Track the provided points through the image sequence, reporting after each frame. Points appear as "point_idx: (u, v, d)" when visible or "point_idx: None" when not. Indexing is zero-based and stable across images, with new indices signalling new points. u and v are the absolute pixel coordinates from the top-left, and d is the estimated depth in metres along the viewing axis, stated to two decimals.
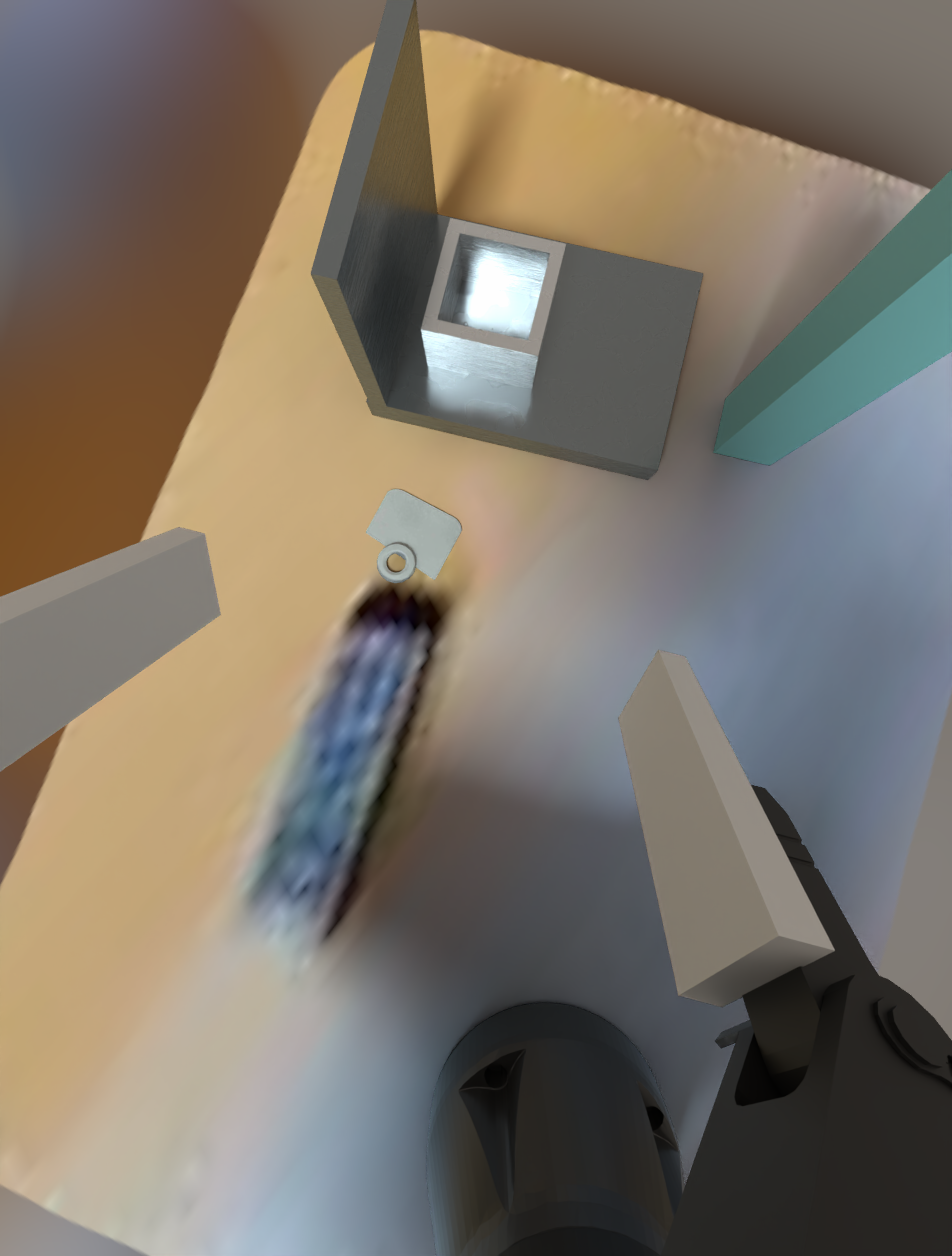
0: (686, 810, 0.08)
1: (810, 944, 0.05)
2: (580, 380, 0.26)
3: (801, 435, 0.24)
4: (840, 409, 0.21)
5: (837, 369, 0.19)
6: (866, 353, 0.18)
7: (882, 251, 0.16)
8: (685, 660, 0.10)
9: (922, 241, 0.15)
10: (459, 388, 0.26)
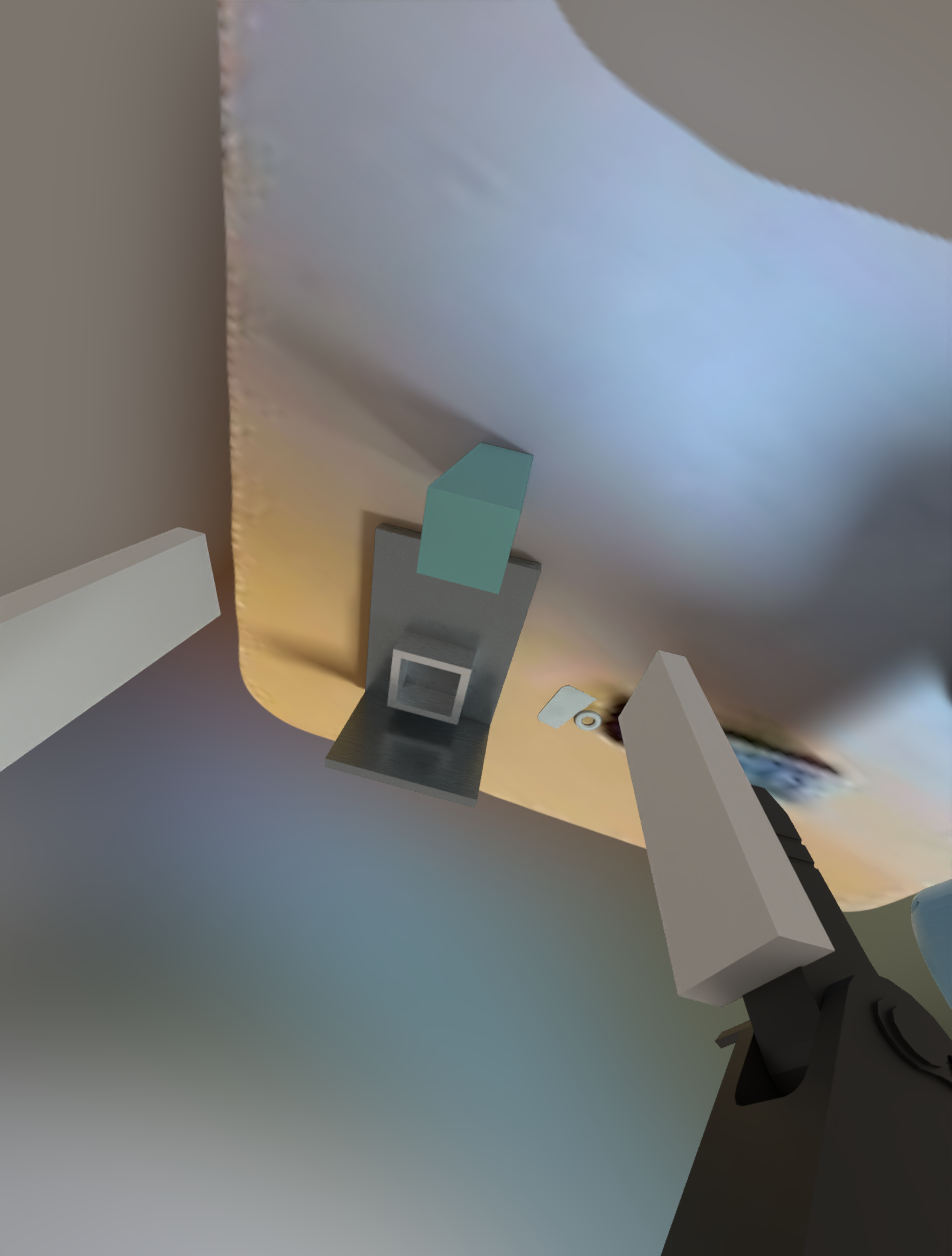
0: (686, 810, 0.08)
1: (810, 944, 0.05)
2: (468, 620, 0.35)
3: None
4: None
5: None
6: None
7: None
8: (685, 660, 0.10)
9: None
10: (477, 689, 0.39)
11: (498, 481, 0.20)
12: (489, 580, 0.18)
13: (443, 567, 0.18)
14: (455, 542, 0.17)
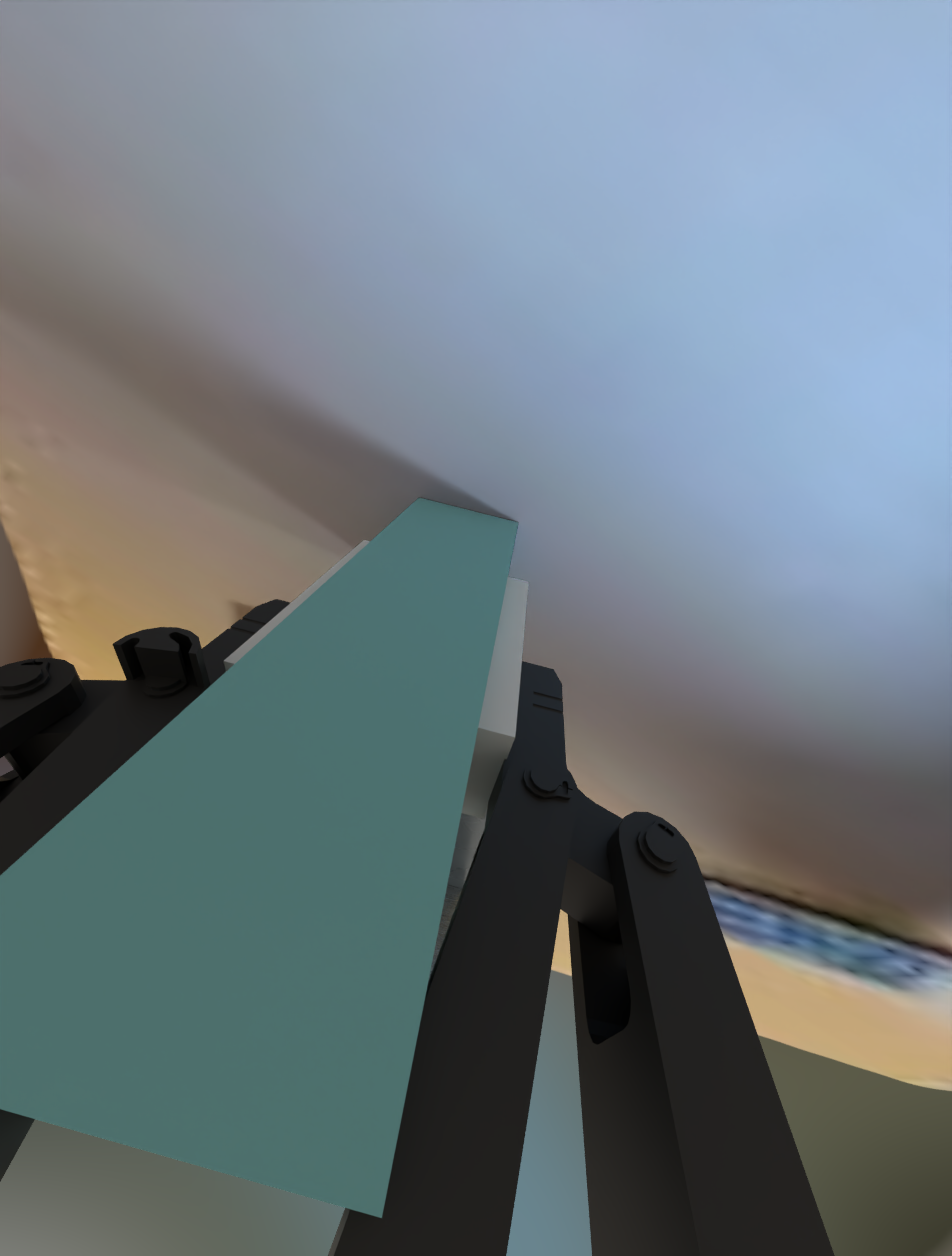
0: None
1: (501, 735, 0.07)
2: None
3: None
4: None
5: None
6: None
7: None
8: (526, 584, 0.12)
9: None
10: None
11: (387, 710, 0.06)
12: None
13: None
14: None
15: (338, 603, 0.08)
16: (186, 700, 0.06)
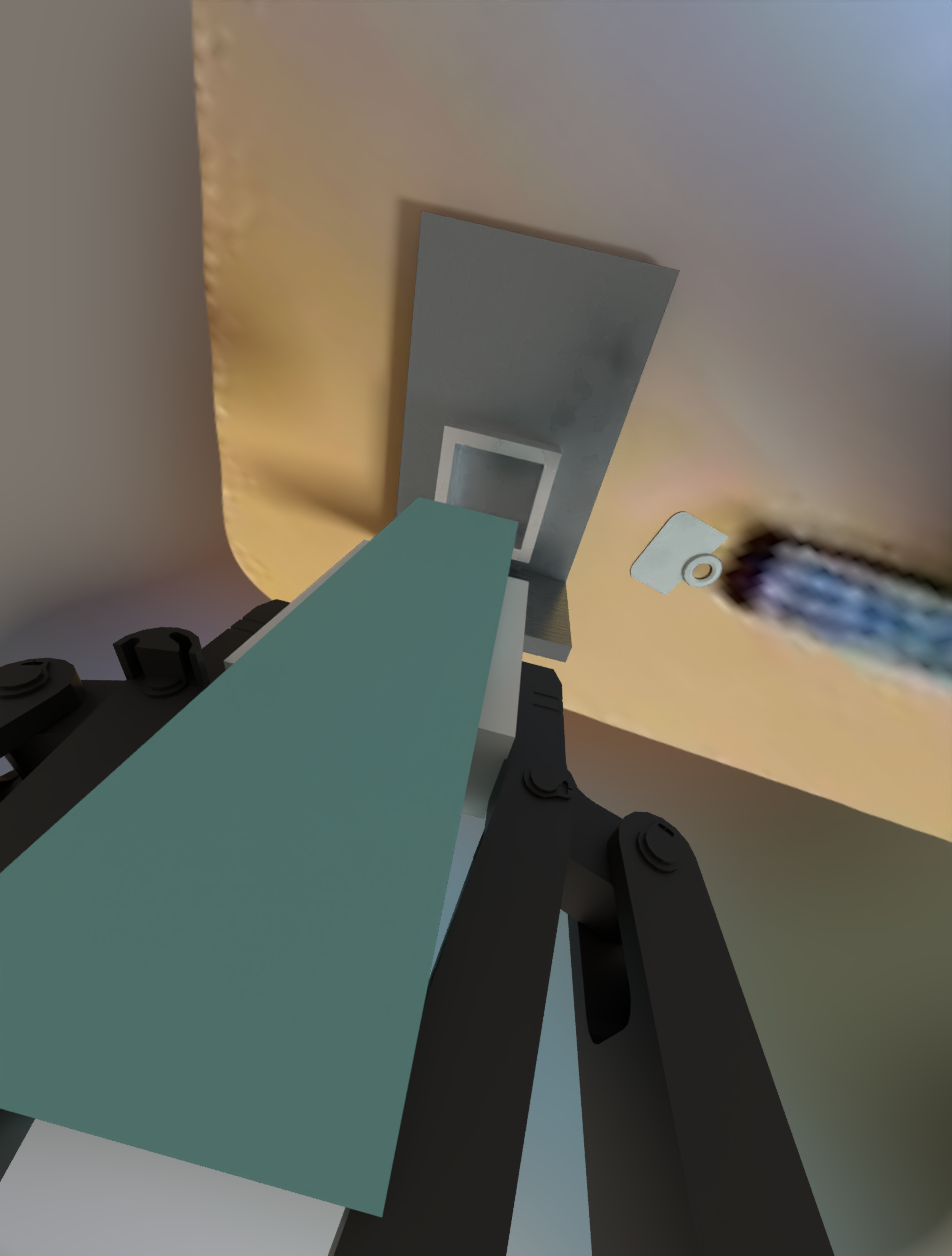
0: None
1: (500, 735, 0.07)
2: (553, 388, 0.24)
3: None
4: None
5: None
6: None
7: None
8: (526, 584, 0.12)
9: None
10: (554, 519, 0.28)
11: (387, 709, 0.06)
12: None
13: None
14: None
15: (338, 602, 0.08)
16: (186, 700, 0.06)
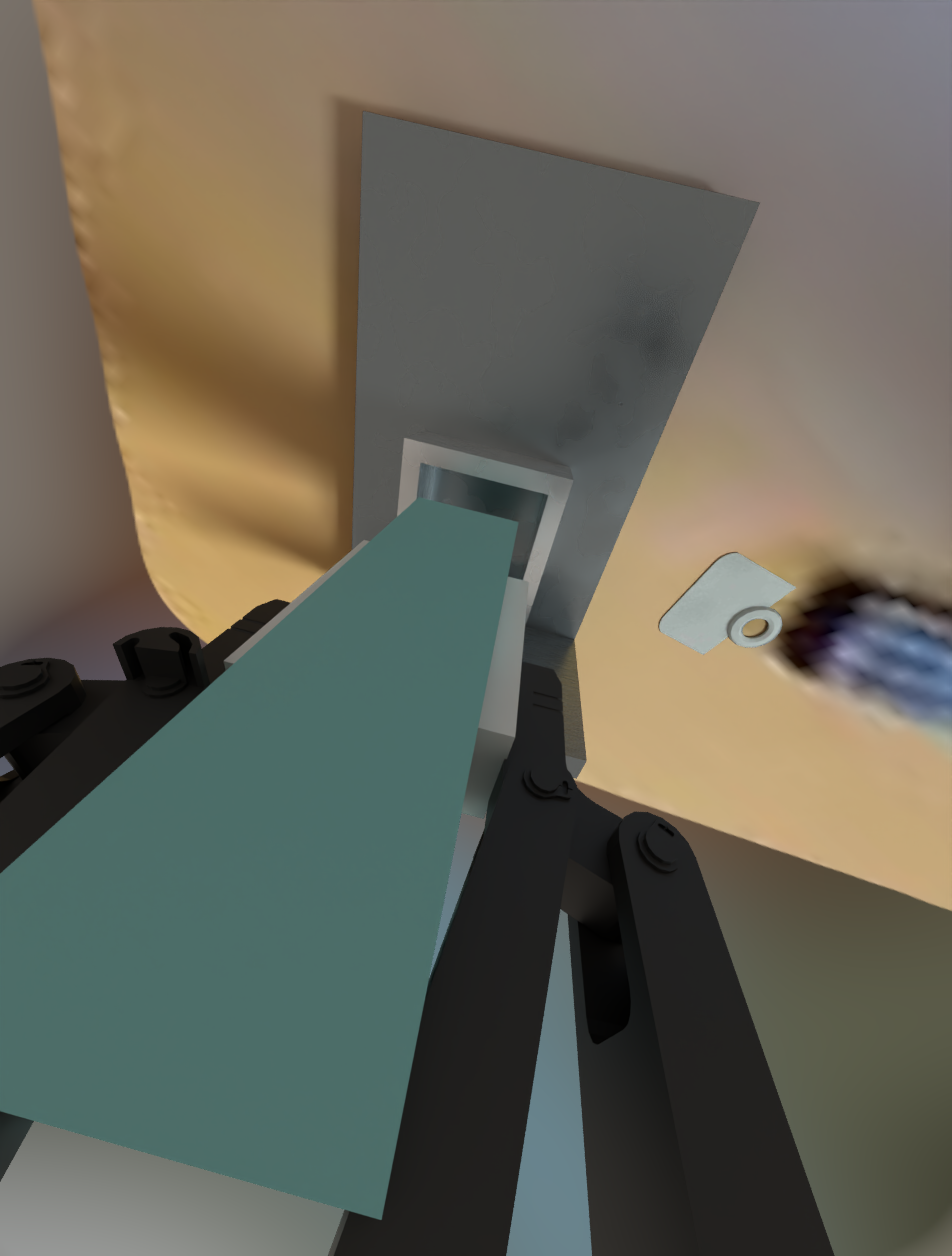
0: None
1: (501, 735, 0.07)
2: (562, 385, 0.17)
3: None
4: None
5: None
6: None
7: None
8: (526, 584, 0.12)
9: None
10: (560, 562, 0.21)
11: (386, 710, 0.06)
12: None
13: None
14: None
15: (338, 602, 0.08)
16: (186, 700, 0.06)
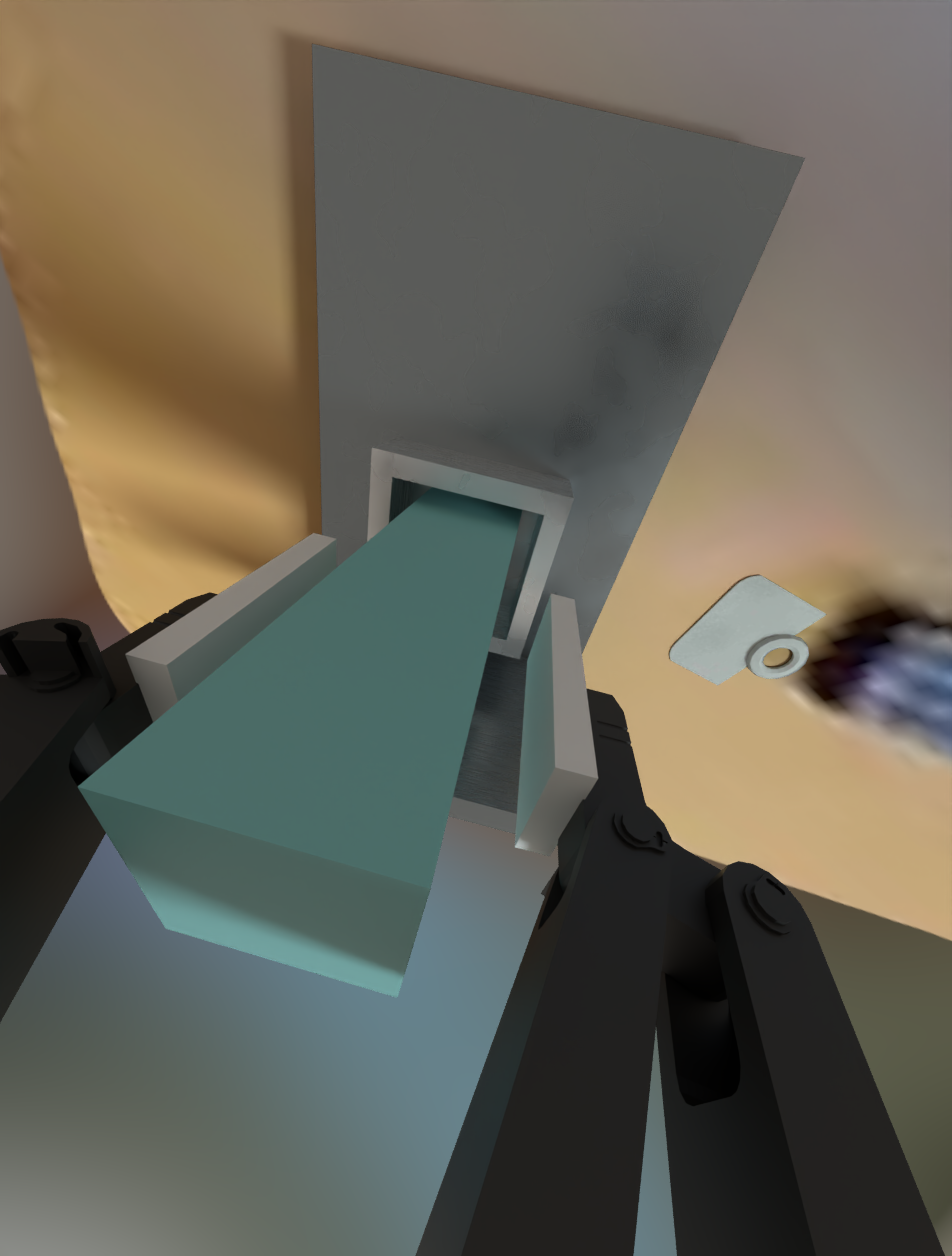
0: (540, 709, 0.09)
1: (582, 775, 0.07)
2: (560, 385, 0.14)
3: None
4: None
5: None
6: None
7: None
8: (573, 602, 0.12)
9: None
10: (558, 587, 0.18)
11: (415, 639, 0.08)
12: (365, 976, 0.06)
13: (229, 935, 0.06)
14: (237, 905, 0.05)
15: (371, 564, 0.10)
16: (82, 692, 0.06)
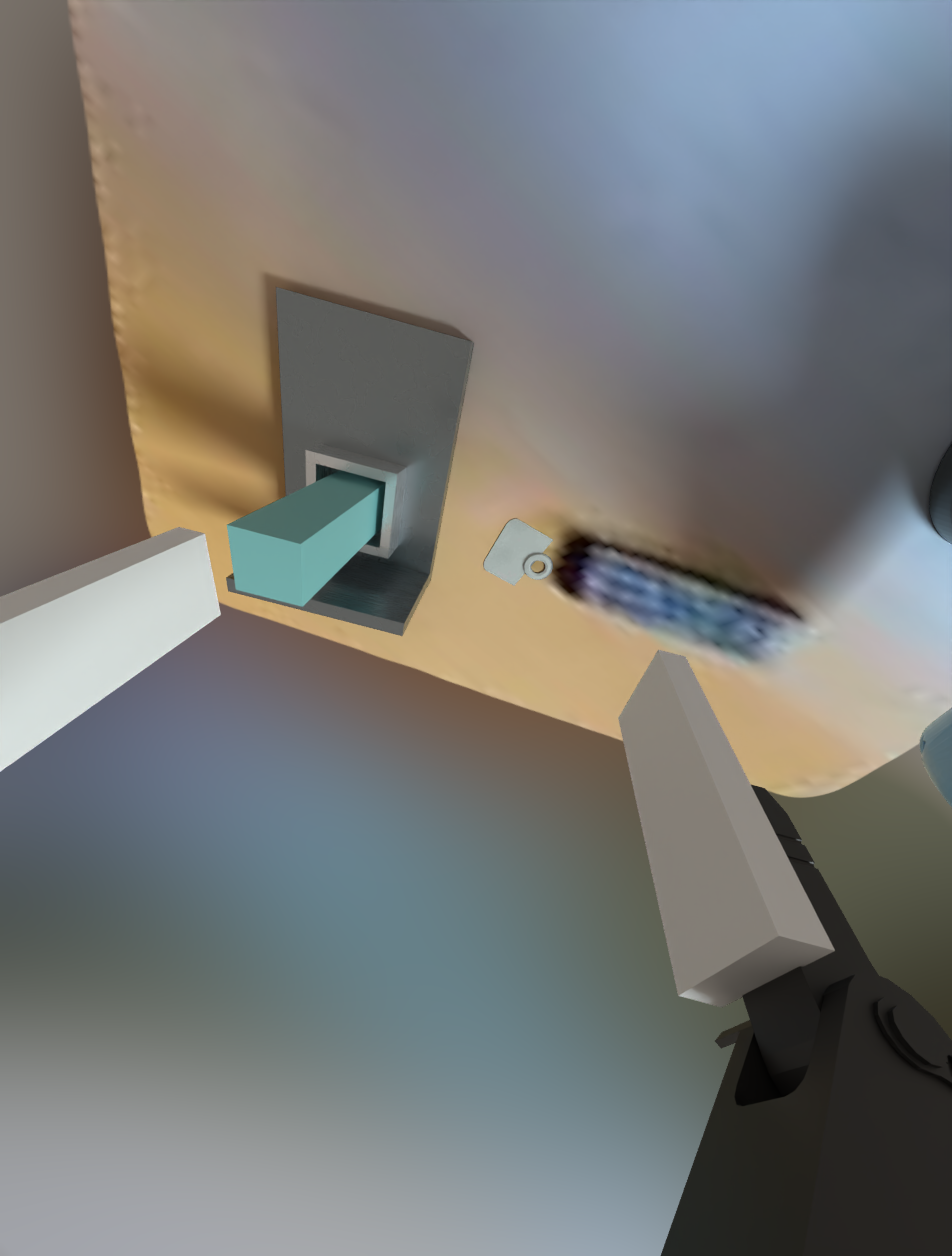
0: (686, 810, 0.08)
1: (810, 944, 0.05)
2: (395, 422, 0.31)
3: (372, 500, 0.31)
4: (360, 510, 0.28)
5: (347, 550, 0.28)
6: (340, 552, 0.27)
7: None
8: (685, 660, 0.10)
9: None
10: (412, 524, 0.35)
11: (311, 514, 0.24)
12: (292, 596, 0.23)
13: (255, 585, 0.22)
14: (258, 567, 0.22)
15: (300, 496, 0.26)
16: None
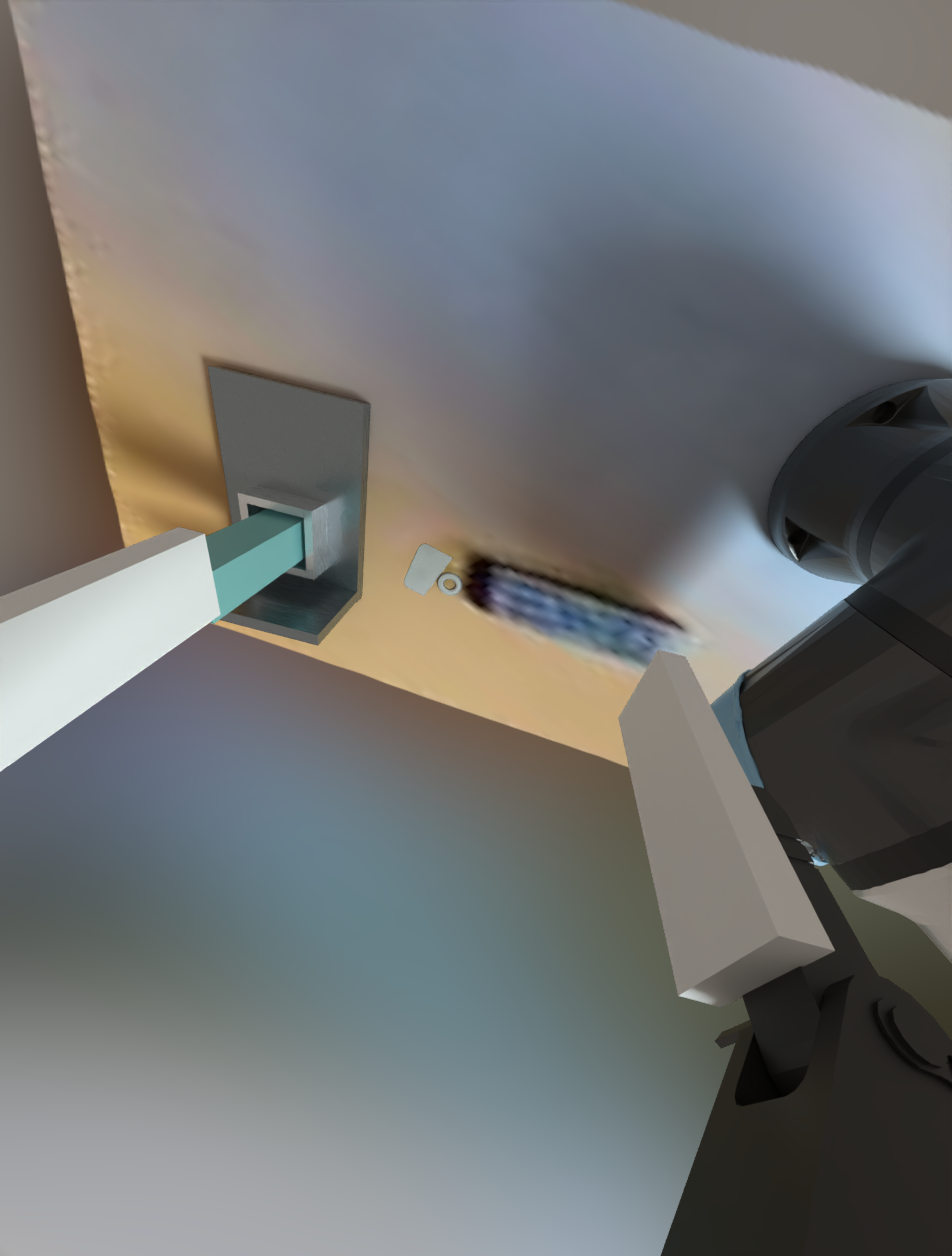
0: (686, 810, 0.08)
1: (810, 944, 0.05)
2: (312, 467, 0.37)
3: (294, 533, 0.37)
4: (278, 542, 0.35)
5: (265, 575, 0.34)
6: (256, 578, 0.33)
7: None
8: (685, 660, 0.10)
9: None
10: (337, 549, 0.41)
11: (225, 549, 0.30)
12: None
13: None
14: None
15: (223, 533, 0.32)
16: None
